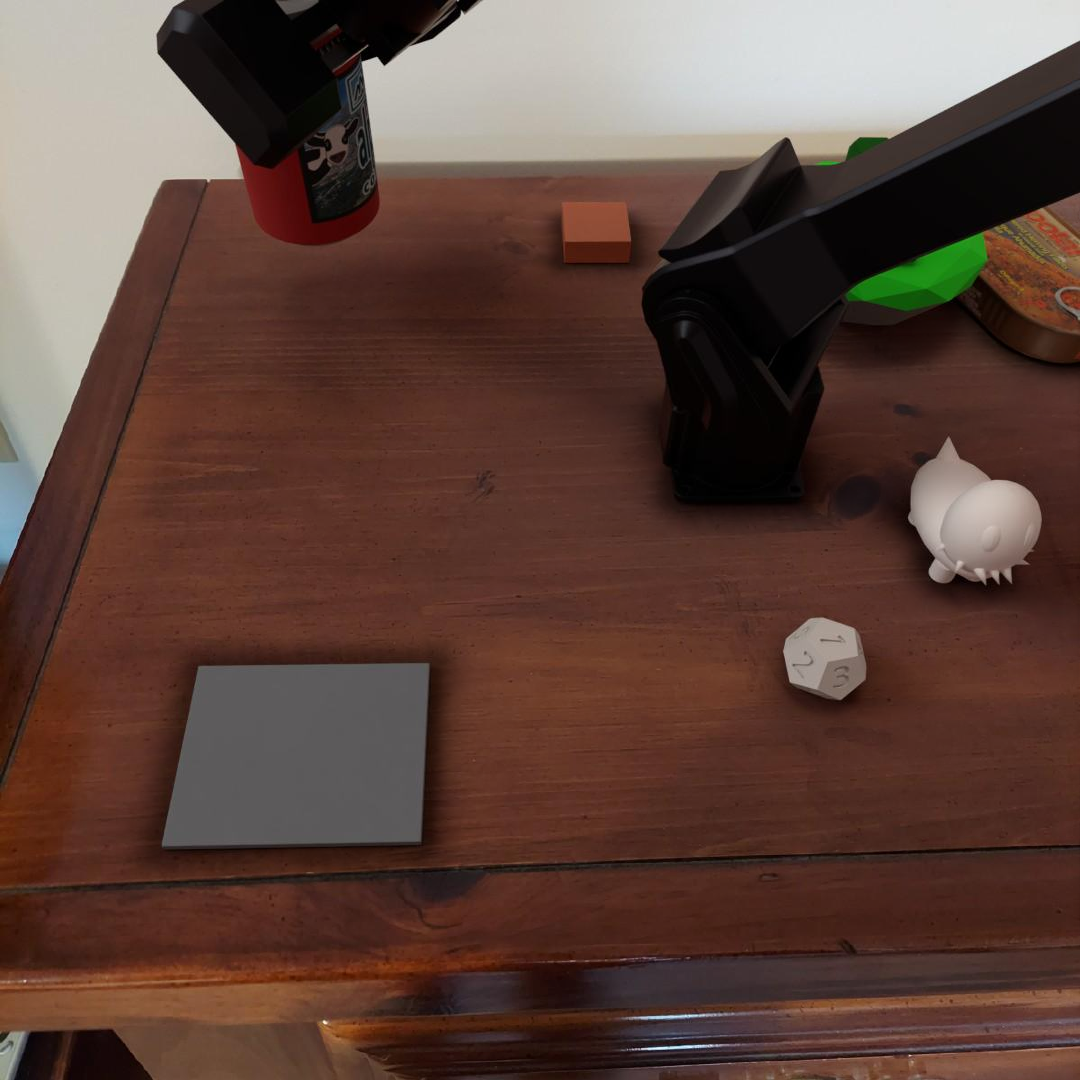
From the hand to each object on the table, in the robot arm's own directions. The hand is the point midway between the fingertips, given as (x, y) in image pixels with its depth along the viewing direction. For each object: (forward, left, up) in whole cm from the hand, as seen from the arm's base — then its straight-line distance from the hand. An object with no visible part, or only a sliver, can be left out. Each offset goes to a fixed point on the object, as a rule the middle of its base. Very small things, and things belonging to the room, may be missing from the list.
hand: (274, 95), depth 50 cm
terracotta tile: (-17, -5, -12) cm, 21 cm away
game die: (-25, +26, -12) cm, 38 cm away
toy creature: (-33, +19, -12) cm, 40 cm away
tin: (-38, +1, -11) cm, 39 cm away
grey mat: (-3, +29, -12) cm, 32 cm away
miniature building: (-32, +1, -12) cm, 34 cm away
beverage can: (-1, +1, -7) cm, 7 cm away
